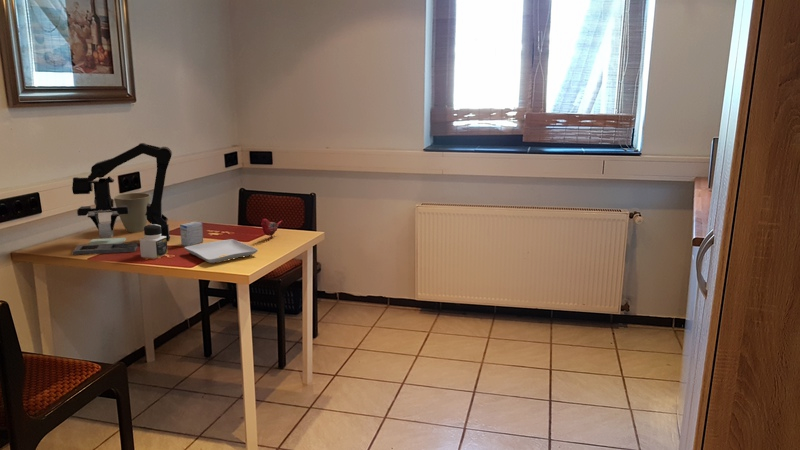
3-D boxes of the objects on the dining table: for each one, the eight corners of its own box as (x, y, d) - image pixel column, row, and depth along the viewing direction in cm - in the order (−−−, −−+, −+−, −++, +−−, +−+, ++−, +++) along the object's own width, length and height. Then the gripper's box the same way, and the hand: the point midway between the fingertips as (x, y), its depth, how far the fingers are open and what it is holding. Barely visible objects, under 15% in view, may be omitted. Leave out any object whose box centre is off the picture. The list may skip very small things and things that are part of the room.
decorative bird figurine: (258, 242, 250) (257, 219, 247) (280, 233, 266) (279, 211, 264) (264, 243, 249) (263, 220, 247) (285, 233, 265) (285, 212, 263)
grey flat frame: (138, 245, 241) (137, 242, 241) (134, 251, 232) (134, 248, 232) (78, 248, 235) (78, 245, 235) (72, 255, 227) (72, 251, 226)
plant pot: (116, 228, 268) (112, 194, 265) (151, 225, 275) (148, 191, 271) (118, 236, 255) (114, 199, 252) (154, 232, 262) (152, 197, 259)
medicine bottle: (157, 258, 224) (155, 228, 222) (140, 257, 226) (138, 226, 223) (168, 253, 231) (166, 223, 228) (151, 252, 233) (149, 222, 230)
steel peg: (113, 235, 246) (112, 221, 245) (111, 237, 242) (110, 223, 241) (101, 235, 245) (100, 221, 244) (99, 238, 241) (98, 224, 240)
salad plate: (259, 257, 230) (259, 248, 230) (209, 267, 216) (208, 258, 215) (232, 246, 245) (232, 238, 244) (183, 255, 231) (182, 246, 230)
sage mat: (126, 239, 251) (126, 237, 251) (122, 245, 242) (121, 243, 241) (92, 240, 247) (92, 239, 247) (87, 246, 238) (86, 245, 238)
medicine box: (196, 240, 250) (195, 221, 248) (203, 242, 248) (202, 222, 246) (181, 245, 244) (179, 224, 242) (188, 246, 242) (187, 226, 240)
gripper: (130, 189, 250) (133, 225, 253) (81, 190, 245) (85, 227, 248) (125, 194, 239) (129, 231, 243) (75, 195, 234) (79, 233, 238)
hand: (106, 230), depth 243 cm, fingers closed on steel peg, 4 cm apart
